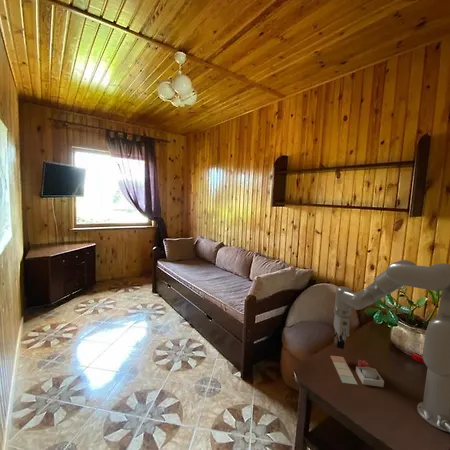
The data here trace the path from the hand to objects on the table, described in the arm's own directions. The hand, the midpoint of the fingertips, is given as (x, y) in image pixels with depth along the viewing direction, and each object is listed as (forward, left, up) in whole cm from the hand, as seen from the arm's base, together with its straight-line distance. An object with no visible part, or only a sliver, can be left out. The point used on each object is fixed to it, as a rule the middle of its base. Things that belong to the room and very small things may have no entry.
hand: (338, 344), depth 128 cm
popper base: (-10, -10, -8) cm, 16 cm away
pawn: (0, 0, -1) cm, 1 cm away
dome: (-13, -10, -8) cm, 18 cm away
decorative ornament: (+10, -46, -9) cm, 48 cm away
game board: (-8, 0, -8) cm, 11 cm away
